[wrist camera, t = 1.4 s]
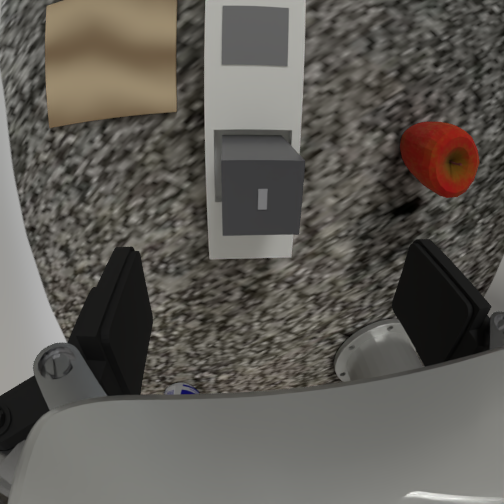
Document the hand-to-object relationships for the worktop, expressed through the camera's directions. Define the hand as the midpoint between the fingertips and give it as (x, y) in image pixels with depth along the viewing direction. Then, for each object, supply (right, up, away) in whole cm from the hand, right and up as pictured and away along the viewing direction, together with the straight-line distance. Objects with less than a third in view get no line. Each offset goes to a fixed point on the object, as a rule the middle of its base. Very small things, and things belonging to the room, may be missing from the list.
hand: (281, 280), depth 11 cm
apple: (+15, +11, +17) cm, 25 cm away
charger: (-1, +8, +14) cm, 16 cm away
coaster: (-13, +18, +10) cm, 24 cm away
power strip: (-1, +19, +11) cm, 22 cm away
